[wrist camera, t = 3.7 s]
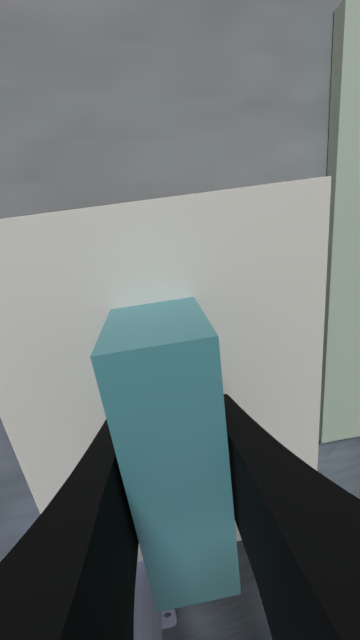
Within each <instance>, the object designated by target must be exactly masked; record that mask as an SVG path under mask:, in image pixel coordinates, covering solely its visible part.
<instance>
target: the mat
mask: <svg viewBox="0 0 360 640" xmlns="http://www.w3.org/2000/svg"><path fill="white" fill-rule="evenodd" d="M327 176H331V196H330V216H329V237H328V258H327V278H326V299H325V319H324V340H323V360H322V381H321V401H320V422H319V441H320V442H321V443H326V442H332V441H337V440H342V439H347V438H353V437H358V436H360V0H343V1H342V2H341V3H340V4H339V5H338V7H337V8H336V9H335V10H334V27H333V50H332V72H331V94H330V117H329V139H328V162H327Z"/></svg>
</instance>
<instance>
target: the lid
mask: <svg viewBox="0 0 360 640" xmlns="http://www.w3.org/2000/svg"><path fill="white" fill-rule="evenodd" d="M330 196H331V176H326V177H318V178H310V179H303V180H295V181H287V182H280V183H272V184H264V185H257V186H249V187H241V188H234V189H226V190H218V191H211V192H203V193H195V194H188V195H180V196H172V197H165V198H157V199H149V200H142V201H134V202H126V203H119V204H111V205H103V206H96V207H88V208H80V209H73V210H65V211H57V212H50V213H42V214H34V215H27V216H19V217H11V218H4V219H0V418H1V421H2V423H3V425H4V428H5V430H6V433H7V435H8V437H9V440H10V442H11V445H12V447H13V449H14V452H15V454H16V457H17V459H18V461H19V464H20V466H21V469H22V471H23V473H24V476H25V478H26V481H27V483H28V485H29V488H30V490H31V493H32V495H33V497H34V500H35V502H36V505H37V507H38V509H39V512H40V514H41V513H42V512H43V511H44V509H45V508H46V507H47V506H48V504H49V503H50V501H51V500H52V499H53V497H54V496H55V495H56V493H57V492H58V491H59V489H60V488H61V487H62V485H63V484H64V483H65V481H66V480H67V478H68V477H69V476H70V474H71V473H72V471H73V470H74V468H75V467H76V465H77V464H78V462H79V461H80V459H81V458H82V456H83V455H84V453H85V452H86V450H87V449H88V447H89V446H90V444H91V443H92V441H93V440H94V438H95V436H96V435H97V433H98V432H99V430H100V428H101V427H102V425H103V423H104V422H105V420H106V419H107V423H108V427H109V431H110V434H111V438H112V442H113V446H114V450H115V454H116V457H117V461H118V465H119V469H120V473H121V476H122V480H123V484H124V488H125V492H126V496H127V499H128V503H129V507H130V511H131V515H132V518H133V522H134V526H135V530H136V534H137V537H138V541H139V546H138V558H137V562H140V561H144V564H145V568H146V572H147V576H148V579H149V583H150V587H151V591H152V595H153V598H154V602H155V606H156V610H157V613H158V612H163V611H167V610H172V609H176V608H181V607H185V606H190V605H195V604H199V603H204V602H208V601H213V600H217V599H222V598H227V597H231V596H236V595H240V594H241V586H240V575H239V563H238V552H237V541H241V540H242V539H241V536H240V533H239V530H238V528H237V525H236V522H235V518H234V507H233V495H232V484H231V473H230V461H229V450H228V439H227V427H226V416H225V405H224V394H227V395H229V396H230V397H231V398H232V399H233V400H234V401H235V402H236V403H237V404H238V405H239V406H240V407H241V408H242V409H243V410H244V411H245V412H246V413H247V414H248V415H249V416H250V417H251V418H252V419H253V420H255V421H256V422H257V423H258V424H259V425H260V426H261V427H262V428H263V429H265V430H266V431H267V432H268V433H269V434H270V435H272V436H273V437H274V438H275V439H276V440H277V441H279V442H280V443H281V444H282V445H284V446H285V447H286V448H287V449H288V450H290V451H291V452H292V453H294V454H295V455H296V456H298V457H299V458H300V459H301V460H303V461H304V462H305V463H307V464H308V465H309V466H311V467H312V468H314V469H315V470H316V471H317V463H318V442H319V422H320V401H321V381H322V360H323V340H324V319H325V299H326V278H327V258H328V237H329V216H330Z"/></svg>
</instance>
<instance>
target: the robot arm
mask: <svg viewBox="0 0 360 640" xmlns="http://www.w3.org/2000/svg"><path fill="white" fill-rule="evenodd" d="M224 405H225V416H226V427H227V439H228V450H229V461H230V473H231V484H232V495H233V507H234V518H235V522H236V525H237V528H238V530H239V533H240V536H241V539H242V541H243V544H244V547H245V550H246V553H247V555H248V558H249V561H250V564H251V567H252V570H253V573H254V576H255V579H256V582H257V585H258V588H259V592H260V596H261V599H262V603H263V606H264V610H265V613H266V617H267V621H268V624H269V628H270V631H271V635H272V639H273V640H360V499H358V498H357V497H355V496H354V495H352V494H350V493H349V492H347V491H346V490H344V489H343V488H341V487H340V486H338V485H337V484H335V483H334V482H332V481H331V480H329V479H328V478H326V477H325V476H323V475H322V474H321V473H319V472H318V471H316V470H315V469H314V468H312V467H311V466H309V465H308V464H307V463H305V462H304V461H303V460H301V459H300V458H299V457H298V456H296V455H295V454H294V453H292V452H291V451H290V450H288V449H287V448H286V447H285V446H284V445H282V444H281V443H280V442H279V441H277V440H276V439H275V438H274V437H273V436H272V435H270V434H269V433H268V432H267V431H266V430H265V429H263V428H262V427H261V426H260V425H259V424H258V423H257V422H256V421H255V420H253V419H252V418H251V417H250V416H249V415H248V414H247V413H246V412H245V411H244V410H243V409H242V408H241V407H240V406H239V405H238V404H237V403H236V402H235V401H234V400H233V399H232V398H231V397H230V396H229V395H227V394H224ZM138 546H139V541H138V537H137V534H136V530H135V526H134V522H133V518H132V515H131V511H130V507H129V503H128V499H127V496H126V492H125V488H124V484H123V480H122V476H121V473H120V469H119V465H118V461H117V457H116V454H115V450H114V446H113V442H112V438H111V434H110V431H109V427H108V423H107V419H106V420H105V422H104V423H103V425H102V427H101V428H100V430H99V432H98V433H97V435H96V436H95V438H94V440H93V441H92V443H91V444H90V446H89V447H88V449H87V450H86V452H85V453H84V455H83V456H82V458H81V459H80V461H79V462H78V464H77V465H76V467H75V468H74V470H73V471H72V473H71V474H70V476H69V477H68V478H67V480H66V481H65V483H64V484H63V485H62V487H61V488H60V489H59V491H58V492H57V493H56V495H55V496H54V497H53V499H52V500H51V501H50V503H49V504H48V506H47V507H46V508H45V509H44V511H43V512H42V513H41V514H40V516H39V517H38V518H37V520H36V521H35V522H34V523H33V525H32V526H31V527H30V528H29V529H28V531H27V532H26V533H25V534H24V535H23V537H22V538H21V539H20V540H19V541H18V542H17V544H16V545H15V546H14V547H13V548H12V550H11V551H10V552H9V553H8V554H7V555H6V557H5V558H4V559H3V560H2V561H1V562H0V640H163V636H162V629H167V628H171V627H173V626H175V625H176V623H177V616H176V611H175V609H172V610H167V611H163V612H158V613H157V610H156V606H155V602H154V598H153V595H152V591H151V587H150V583H149V579H148V576H147V572H146V568H145V564H144V561H140V562H137V558H138Z"/></svg>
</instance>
